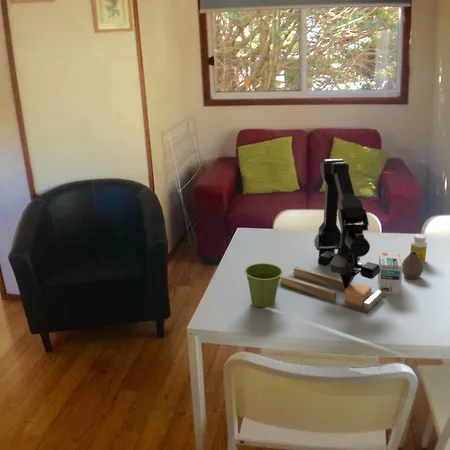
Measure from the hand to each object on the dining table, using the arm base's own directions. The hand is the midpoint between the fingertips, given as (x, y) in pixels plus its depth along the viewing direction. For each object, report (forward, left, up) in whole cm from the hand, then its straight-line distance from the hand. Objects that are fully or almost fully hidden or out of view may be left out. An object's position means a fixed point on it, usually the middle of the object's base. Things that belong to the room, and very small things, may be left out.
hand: (346, 288), depth 171 cm
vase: (-27, +11, -4) cm, 30 cm away
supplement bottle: (-41, +8, -4) cm, 42 cm away
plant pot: (+18, -20, -4) cm, 27 cm away
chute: (0, -6, -3) cm, 7 cm away
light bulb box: (-14, +8, -4) cm, 17 cm away
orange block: (0, +4, -3) cm, 5 cm away
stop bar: (0, +9, -3) cm, 9 cm away
